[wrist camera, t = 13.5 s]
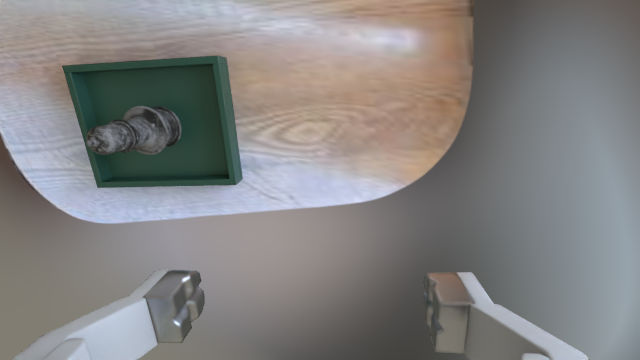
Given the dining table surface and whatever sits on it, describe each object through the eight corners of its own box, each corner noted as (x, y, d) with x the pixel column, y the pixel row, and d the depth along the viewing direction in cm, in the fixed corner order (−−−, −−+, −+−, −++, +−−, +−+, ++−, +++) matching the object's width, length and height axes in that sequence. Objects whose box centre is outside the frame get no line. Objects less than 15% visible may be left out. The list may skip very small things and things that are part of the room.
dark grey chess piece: (144, 148, 40) (64, 172, 29) (137, 103, 38) (49, 110, 27) (186, 149, 40) (121, 175, 28) (181, 104, 38) (110, 113, 27)
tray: (80, 67, 38) (62, 65, 36) (226, 57, 36) (217, 55, 34) (111, 181, 43) (97, 187, 41) (242, 178, 41) (236, 184, 39)
